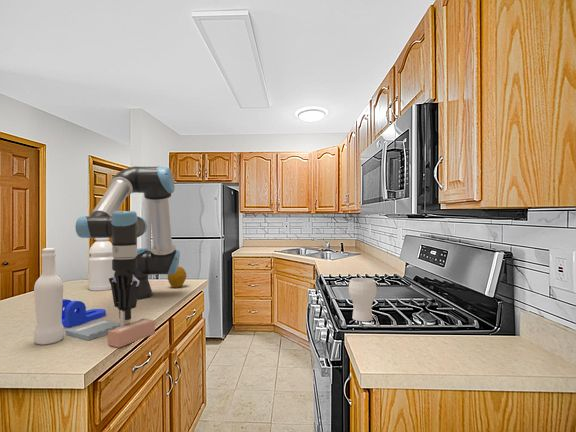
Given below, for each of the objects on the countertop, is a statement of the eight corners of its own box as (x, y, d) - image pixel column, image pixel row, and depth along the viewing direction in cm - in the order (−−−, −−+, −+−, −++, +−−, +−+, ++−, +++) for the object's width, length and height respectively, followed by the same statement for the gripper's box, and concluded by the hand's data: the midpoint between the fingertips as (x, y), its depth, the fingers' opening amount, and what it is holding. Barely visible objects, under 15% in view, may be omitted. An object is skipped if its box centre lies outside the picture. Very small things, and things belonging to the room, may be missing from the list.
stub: (144, 331, 125) (144, 318, 125) (154, 333, 123) (154, 320, 123) (108, 344, 112) (107, 330, 112) (119, 347, 110) (118, 332, 110)
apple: (188, 285, 203) (187, 264, 202) (183, 289, 193) (183, 267, 193) (170, 285, 202) (170, 264, 202) (165, 289, 193) (165, 267, 192)
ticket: (103, 323, 135) (103, 318, 135) (125, 328, 129) (125, 323, 129) (65, 334, 122) (65, 330, 122) (88, 340, 117) (88, 335, 117)
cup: (345, 315, 145) (345, 277, 145) (371, 314, 146) (371, 277, 146) (352, 323, 134) (352, 283, 134) (380, 322, 135) (380, 282, 135)
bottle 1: (41, 347, 111) (40, 250, 111) (29, 342, 115) (28, 248, 115) (69, 339, 118) (68, 247, 117) (56, 334, 122) (55, 246, 122)
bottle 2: (121, 288, 196) (121, 236, 195) (94, 292, 185) (93, 238, 185) (110, 284, 205) (110, 235, 204) (84, 288, 194) (83, 236, 194)
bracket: (68, 328, 129) (68, 303, 129) (52, 325, 132) (52, 301, 132) (110, 315, 146) (110, 293, 146) (95, 312, 149) (95, 291, 149)
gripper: (101, 258, 118) (101, 329, 119) (128, 260, 112) (129, 335, 113) (121, 255, 125) (121, 323, 125) (148, 257, 119) (148, 328, 119)
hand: (125, 329), depth 119 cm, fingers closed
